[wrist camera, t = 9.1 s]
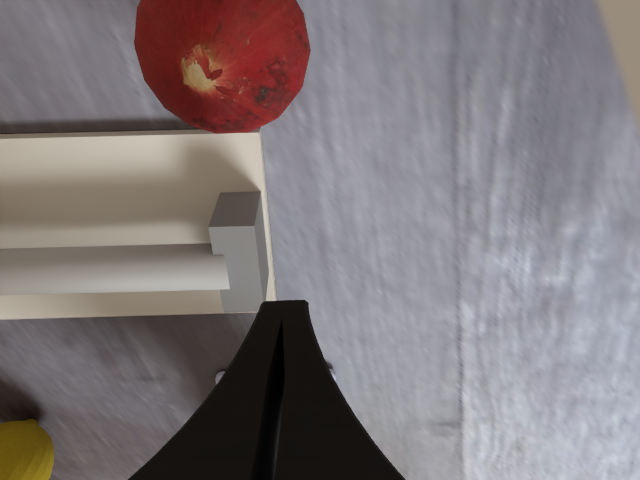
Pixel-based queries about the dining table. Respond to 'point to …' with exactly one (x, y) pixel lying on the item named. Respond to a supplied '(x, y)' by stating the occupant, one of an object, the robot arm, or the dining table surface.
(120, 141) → the rail
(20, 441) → the lemon
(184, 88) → the red pomegranate
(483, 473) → the dining table surface
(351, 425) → the robot arm
